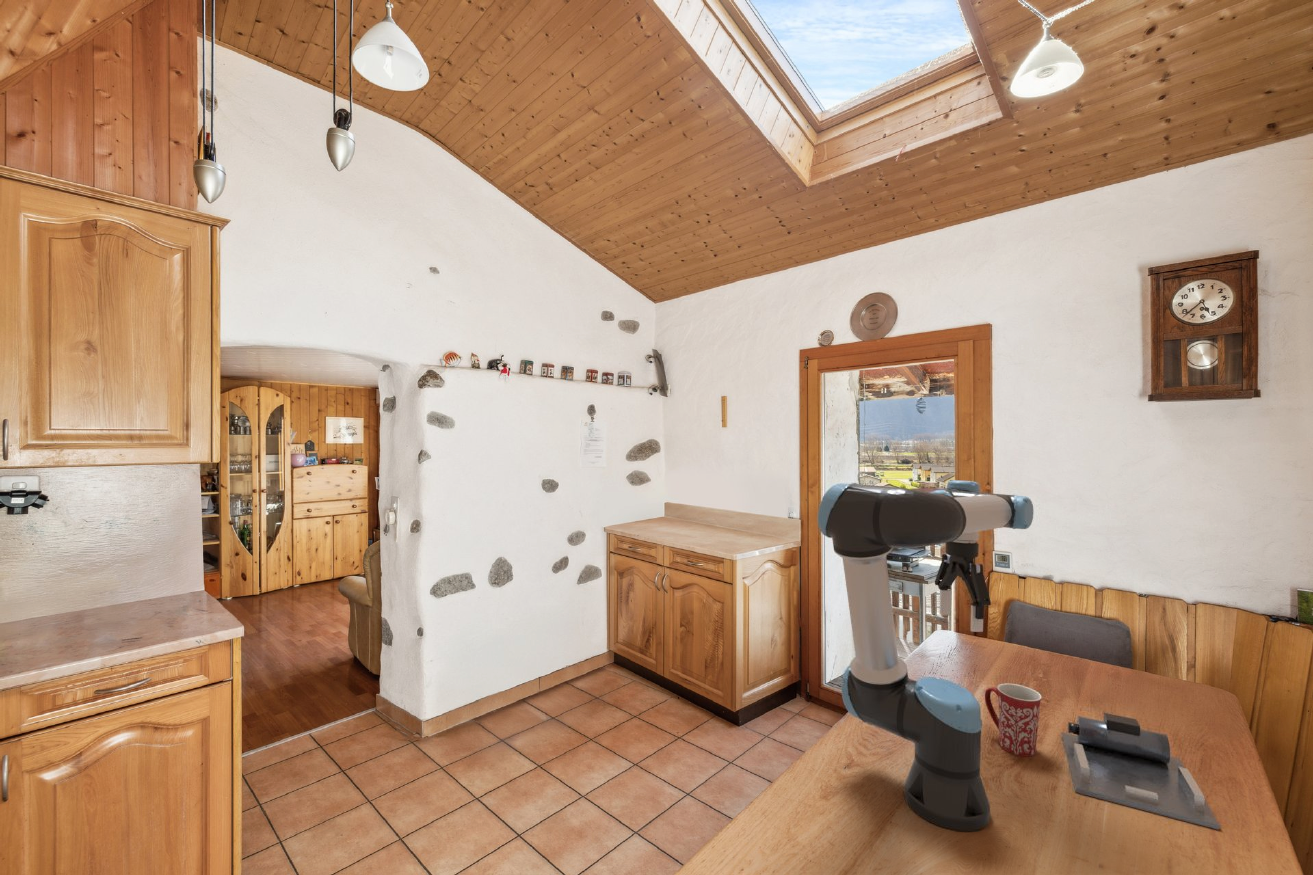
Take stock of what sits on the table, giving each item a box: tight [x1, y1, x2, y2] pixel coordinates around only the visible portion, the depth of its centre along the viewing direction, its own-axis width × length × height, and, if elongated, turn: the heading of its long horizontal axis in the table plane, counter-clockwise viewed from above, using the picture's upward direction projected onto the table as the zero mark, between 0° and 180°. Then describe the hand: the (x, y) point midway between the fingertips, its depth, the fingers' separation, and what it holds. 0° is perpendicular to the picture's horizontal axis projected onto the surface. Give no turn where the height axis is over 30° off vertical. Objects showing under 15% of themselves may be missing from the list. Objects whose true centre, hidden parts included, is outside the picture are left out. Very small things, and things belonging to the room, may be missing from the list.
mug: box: [984, 683, 1043, 757], centre depth 138 cm, size 13×9×14 cm
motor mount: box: [1060, 712, 1220, 831], centre depth 125 cm, size 26×22×8 cm
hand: (960, 622), depth 149 cm, fingers open, 13 cm apart
